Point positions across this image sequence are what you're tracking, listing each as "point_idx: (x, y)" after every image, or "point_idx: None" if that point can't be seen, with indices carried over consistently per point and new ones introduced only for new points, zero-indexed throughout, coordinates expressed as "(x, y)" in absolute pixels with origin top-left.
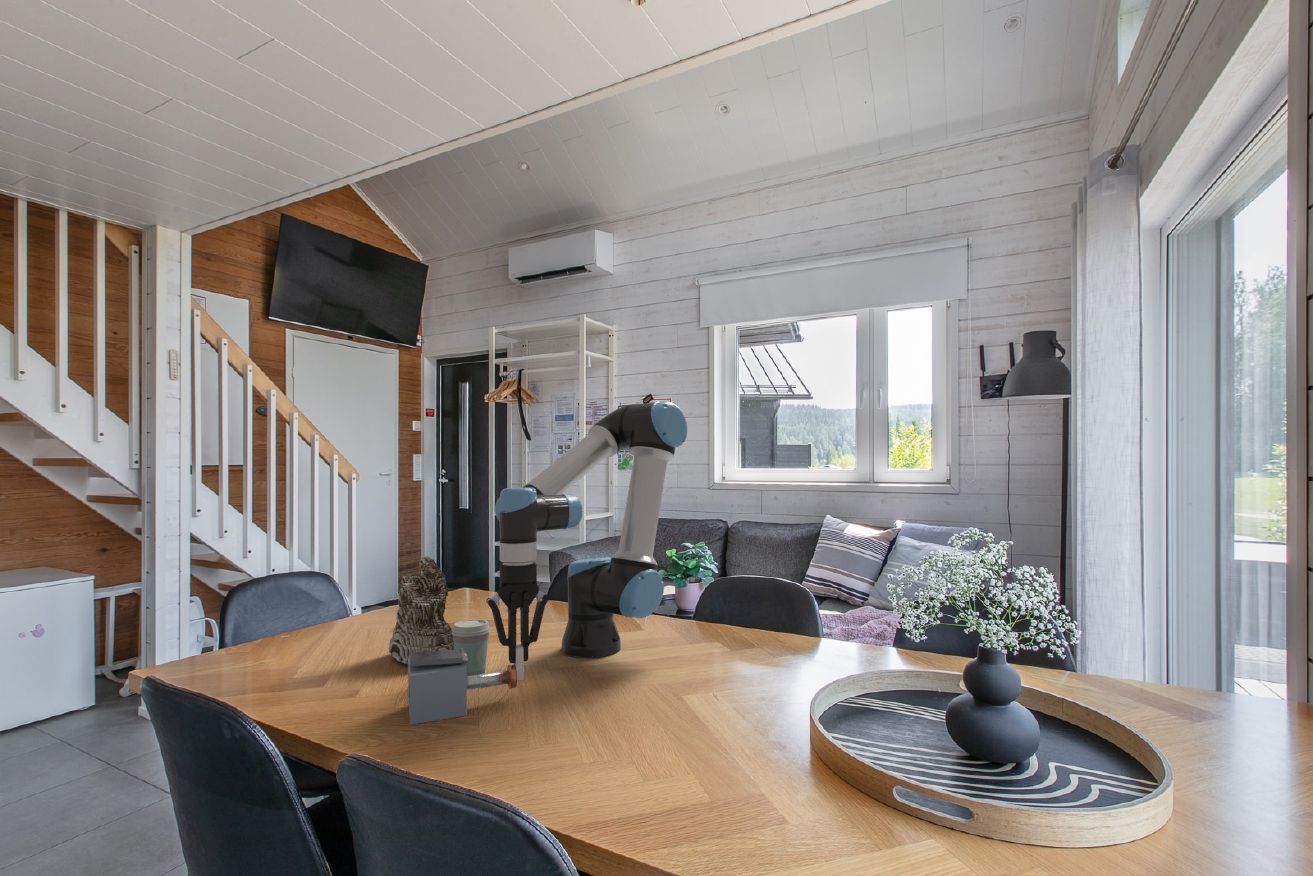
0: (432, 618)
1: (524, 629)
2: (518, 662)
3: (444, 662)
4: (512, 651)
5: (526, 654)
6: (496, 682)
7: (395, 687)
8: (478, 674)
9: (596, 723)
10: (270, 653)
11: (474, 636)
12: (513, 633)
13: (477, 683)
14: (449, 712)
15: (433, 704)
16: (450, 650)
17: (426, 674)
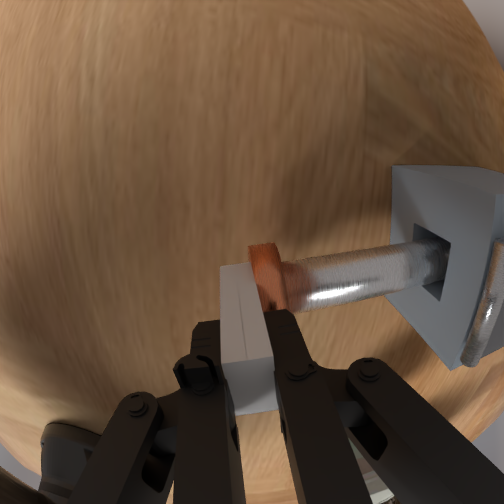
0: (395, 501)
1: (215, 480)
2: (248, 303)
3: None
4: (291, 350)
5: (201, 345)
6: (330, 254)
7: None
8: (398, 286)
9: (53, 19)
10: (468, 435)
11: (366, 472)
12: (319, 444)
13: (396, 246)
14: (434, 167)
15: (478, 172)
16: (500, 346)
17: None
